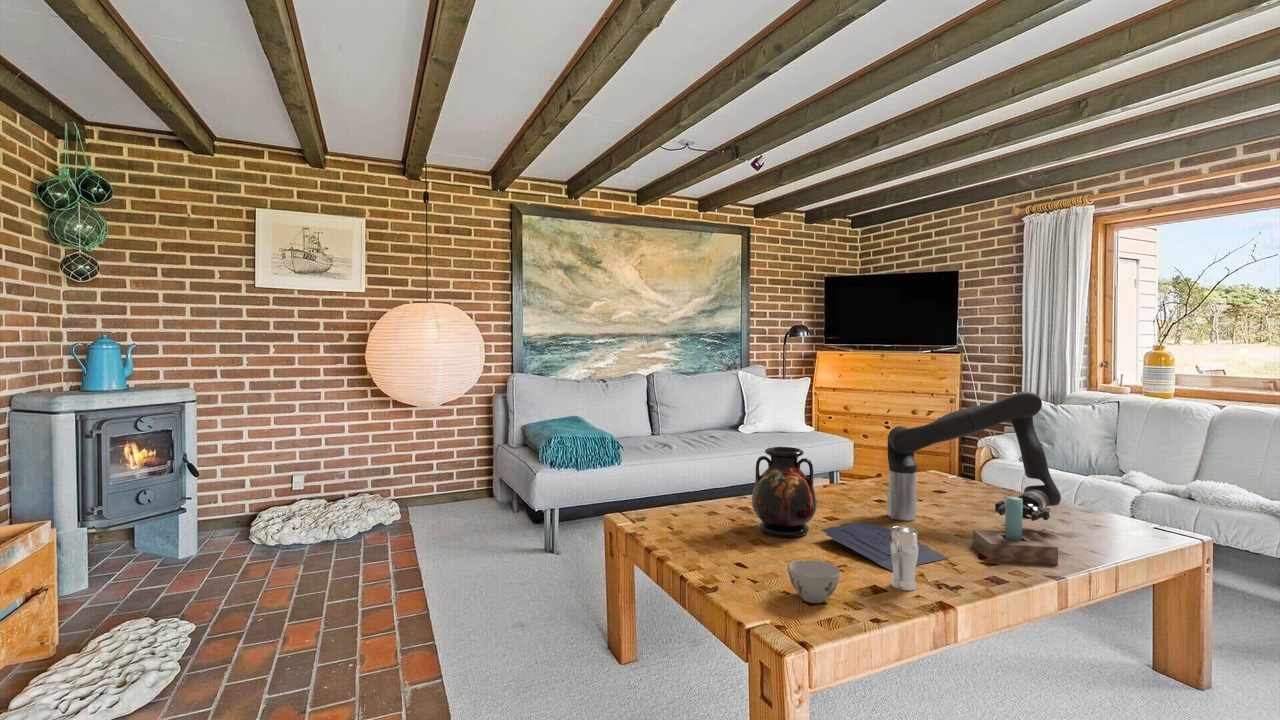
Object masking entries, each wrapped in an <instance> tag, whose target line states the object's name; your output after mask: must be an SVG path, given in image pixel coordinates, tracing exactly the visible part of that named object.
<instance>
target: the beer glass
mask: <svg viewBox="0 0 1280 720" xmlns="http://www.w3.org/2000/svg"><path fill="white" fill-rule="evenodd" d="M890 530H891V533H890V554H891V560H892V566H893V571H892V577H891V582H890V585H891V586H892V588H895V589H897V590H900V591H907V592H910V591H915V590H916V589H917V584H916V583H917V582H916V576H915V574H916V573H915V572H916V567H917V565H916V563H917V558H918V551H919V543H920V541H919V531H918V530H917V529H916V528H913V527H910V526H905V525H896V526H894V525H893V526H892V527H890Z"/></svg>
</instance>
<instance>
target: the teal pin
mask: <svg viewBox="0 0 1280 720" xmlns="http://www.w3.org/2000/svg"><path fill="white" fill-rule="evenodd" d="M1017 497H1018V496H1006V497H1005V514H1004V516H1005V519H1004V521H1005V523H1004V524H1005V525H1004V531H1005V539H1006V540H1007V541H1022V532H1023V518H1022V512H1023V499H1021V498H1017Z"/></svg>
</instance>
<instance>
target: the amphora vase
mask: <svg viewBox="0 0 1280 720" xmlns="http://www.w3.org/2000/svg"><path fill="white" fill-rule="evenodd" d="M764 453H765V454H766V455H768V456H770V457H768V456H765V455H761V456H759V457H758V458H757V460H756V463H755V478H754V479H755V483H754V486H753V490H752V495H751V503H752V504H751V505H752V509H753V511H754V514H755V516H757V518H758V519H759V520H760V521H761V522H759V524H758V525H759V526H758V527H759V529H760V530H761V531H762V532H763V533H764V534H767V535H769V536H772V537H777V538H787V539H788V538H790V539H791V538H801V537H803V536H805V535H807V534H808V533H809V530H810V528H809V526H808V523H809V522H810V521H811V520H812V519H813V517H814V516H815V514H816V512H817V506H818V500H817V494H816V491H815V488H814V466H813V463H812V461H811V459H808V457H807V458H805V457H804V458H801V459H799V457H802V456H803V455H804V454H805V453H804V450H803V449H801V448H798V447H797V448H796V447H790V446H773V447H771V446H770V447H768V448H766V449H764ZM798 459H799V460H798ZM763 460H764V461H766V463H767V466H768V467H767V468H766V469H765V470H764V472H763V473H762V474H761V475H760V466H761V462H762V461H763ZM802 463H806V464H807V465H808V468H809V477H807V476H806V474H805V473H804V472H803V470H802V469H801V464H802Z"/></svg>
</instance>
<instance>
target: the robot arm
mask: <svg viewBox="0 0 1280 720" xmlns="http://www.w3.org/2000/svg"><path fill="white" fill-rule="evenodd" d="M1042 405H1043V402H1042V398H1041V397H1040V396H1039V395H1038V394H1036V393H1035V392H1032V391H1027V390H1026V391H1019V392H1016V393H1013V394H1011V395H1010V396H1008V397H1005V398H1003V399H1000V400H998V401H995V402H989V403H985V404H980V405H974V406H970V407H966V408H962V409H958V410H955V411H952V412H949V413H947V414H945V415H943V416H940V417H939V418H937V419H935V420H933V421H932V422H929V423H927V424H924V425H920V426H919V425H918V426H915V427H910V428H909V427H906V426H903V425H899V426H894V428H893V427H892V428H891V430H890V431H889V433H888V436H887V460H888V461H887V463H888V489H887V499H886V500H887V502H886V503H887V504H886V505H887V507H886V509H887V510H886V512H887V513H886V514H887V516H888V518H890V519H891V520H898V521H905V522H906V521H915V520H916V519H917V463H916V460H915V452H917V451H919V450H921V449H925V448H927V447H929V446H931V445H935V444H939V443H943V442H948V441H952V440H955V439H959V438H963V437H966V436H969V435H974V434H976V433H979V432H982V431H985V430H987V429H989V428H992V427H994V426H997V425H999V424H1001V423H1005V422H1008V421H1010V422H1011V424H1012V427H1013V429H1014V432H1015V436H1016V439H1017V442H1018V446H1019V450H1020V455H1021V460H1022V464H1023V465H1022V466H1023V469H1024V474H1025V477H1027V478H1029V479H1032V480H1033V479H1034V480H1040V481H1041V482H1042V483H1043V484H1042V485H1041V484H1039V485H1029V486H1026V487H1025V488H1024V489H1023V493H1022V494H1020V495H1019V496H1016V497H1017V498H1021V499H1023V512H1022V519H1025V520H1030V521H1033V522H1035V521H1037V520H1041V519H1043V520H1044V521H1048V520H1049V519H1050V518H1051V508H1050V507H1055V506H1058V505H1059V504H1060V503H1061V500H1062V496H1061V492H1060V491H1059V489H1058V487H1057V485H1056V484H1055V482H1054V480H1053V478H1052V476H1051V474H1050V470H1049V467H1048V466H1049V465H1048V461H1047V457H1046V453H1045V451H1044V450H1045V449H1044V448H1043V446H1042V443H1041V441H1040V439H1039V438H1038V435H1037V433H1036V430H1035V426H1034V416H1036V415H1037V414H1038V413H1039V412H1040V411H1041V409H1042V407H1043V406H1042ZM1005 503H1006V500H1000V501H997V502H996V503H995V505H994V511H995V512H996V513H997V514H998V515H999V516H1003V515H1004V516H1005ZM1043 520H1042V521H1043Z"/></svg>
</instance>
